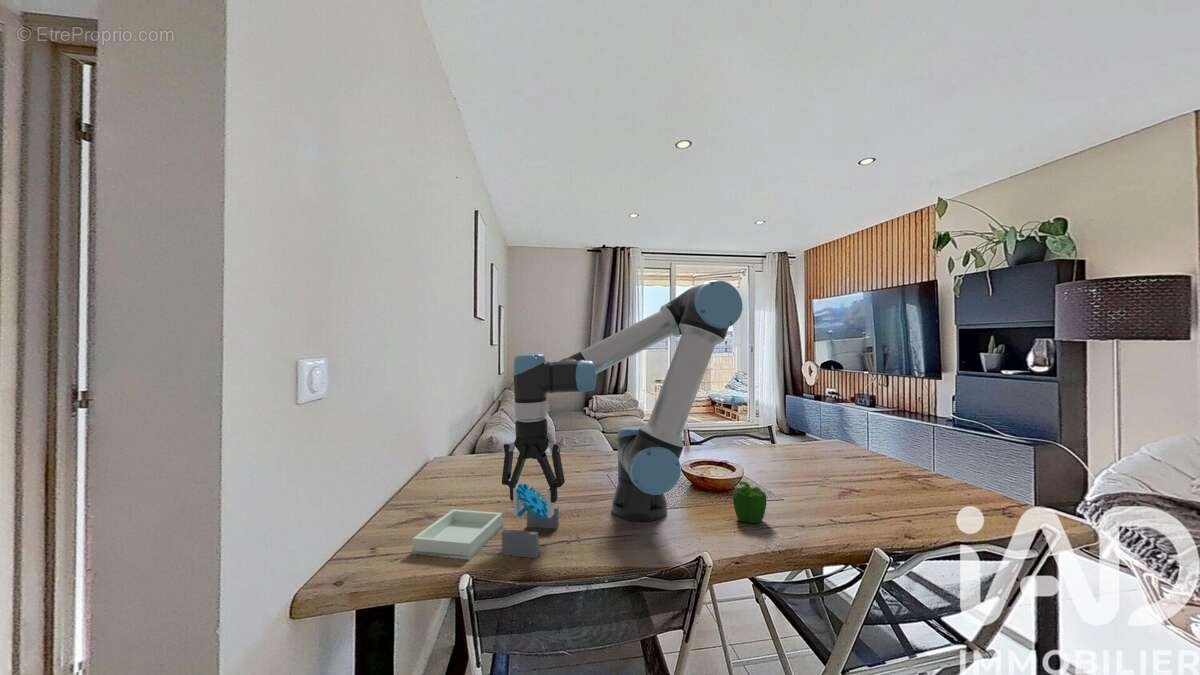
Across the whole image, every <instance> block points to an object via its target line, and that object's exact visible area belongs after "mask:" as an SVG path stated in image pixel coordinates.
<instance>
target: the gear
mask: <svg viewBox="0 0 1200 675" xmlns="http://www.w3.org/2000/svg"><path fill="white" fill-rule="evenodd" d="M517 485H518V489H517V490H516V492H517V493H518V494H519V495H518V499H519V500H521V502H523V504H522V506H523V507H522V508H521V511H520V512H519V513H518V516H517V517H519V518H521V517H522V516H523V515H524V514H526V513H527V510H528V509H530V508H532V510H531V511H530V513H531V514H532V515H533V516H534V515H535V514H536V513H537V512H538V515H537V516H538V517H539V518H540V519H542V518H543V517H544V518H547V517H548V515H547V507H546V506H547V500H543V492H542V491H540V490H539V491H538V492H537V493H535V492H536V491H537V490H536V489H535V487H534V486H531V488H530V486H529V484H528V483H526V482H525V483H524V484H523V483H518V484H517Z"/></svg>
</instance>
